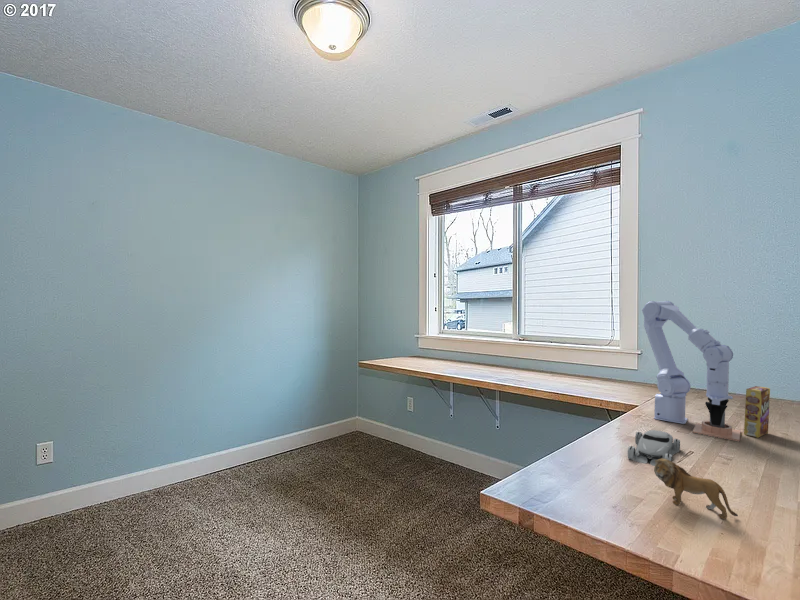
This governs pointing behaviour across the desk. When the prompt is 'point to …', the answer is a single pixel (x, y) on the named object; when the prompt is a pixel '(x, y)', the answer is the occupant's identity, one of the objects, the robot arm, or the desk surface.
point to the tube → (721, 422)
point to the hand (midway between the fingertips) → (716, 422)
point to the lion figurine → (690, 485)
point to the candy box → (757, 411)
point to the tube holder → (717, 431)
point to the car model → (653, 447)
